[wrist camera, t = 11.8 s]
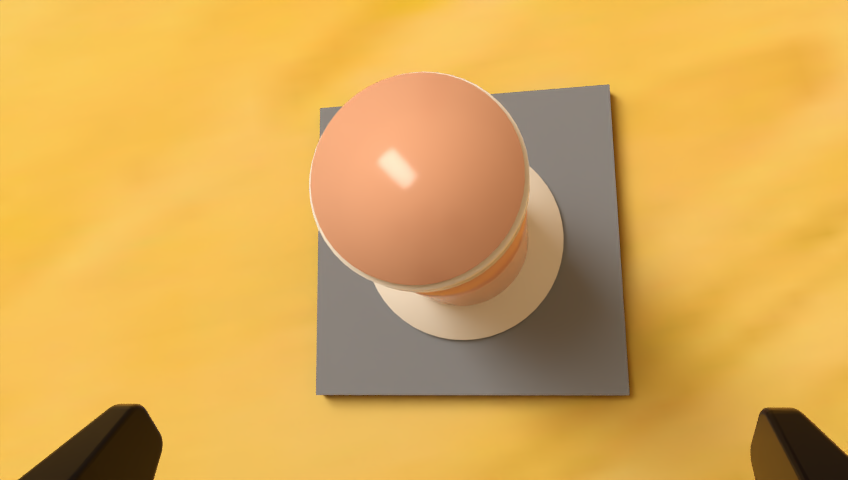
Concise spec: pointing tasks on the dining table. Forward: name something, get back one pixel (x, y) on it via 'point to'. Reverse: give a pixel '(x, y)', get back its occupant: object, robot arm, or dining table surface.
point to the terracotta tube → (425, 188)
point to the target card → (520, 302)
